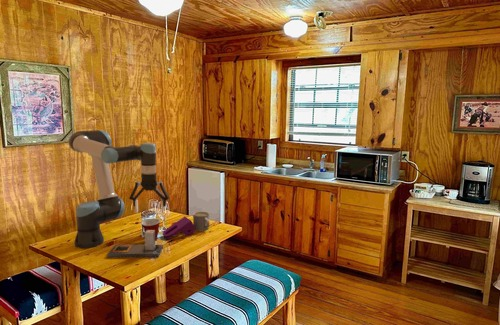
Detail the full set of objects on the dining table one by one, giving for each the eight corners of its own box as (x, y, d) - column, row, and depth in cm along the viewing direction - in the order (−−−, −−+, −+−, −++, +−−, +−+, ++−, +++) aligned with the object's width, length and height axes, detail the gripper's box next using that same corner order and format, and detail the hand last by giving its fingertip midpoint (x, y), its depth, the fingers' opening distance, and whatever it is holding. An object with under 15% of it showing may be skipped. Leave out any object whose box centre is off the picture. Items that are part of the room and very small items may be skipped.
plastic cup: (140, 238, 204) (139, 219, 202) (158, 236, 209) (157, 217, 207) (143, 245, 194) (143, 225, 193) (162, 242, 200) (162, 222, 198)
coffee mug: (191, 227, 225) (190, 212, 223) (205, 225, 230) (205, 210, 229) (198, 234, 214) (198, 218, 212) (213, 231, 219) (213, 216, 217)
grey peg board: (107, 257, 178) (107, 253, 178) (115, 248, 190) (115, 244, 190) (158, 257, 180) (158, 253, 179) (163, 248, 191) (163, 244, 191)
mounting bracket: (172, 248, 205) (196, 231, 213) (166, 238, 202) (191, 220, 210) (166, 243, 213) (190, 226, 221) (160, 233, 210) (184, 216, 218)
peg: (145, 254, 183) (144, 232, 181) (147, 250, 187) (146, 230, 185) (153, 254, 183) (153, 232, 181) (155, 251, 187) (155, 230, 186)
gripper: (122, 174, 174) (123, 214, 177) (171, 174, 175) (172, 214, 179) (126, 171, 181) (128, 210, 185) (174, 171, 183) (174, 210, 186)
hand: (149, 212), depth 182 cm, fingers open, 13 cm apart
